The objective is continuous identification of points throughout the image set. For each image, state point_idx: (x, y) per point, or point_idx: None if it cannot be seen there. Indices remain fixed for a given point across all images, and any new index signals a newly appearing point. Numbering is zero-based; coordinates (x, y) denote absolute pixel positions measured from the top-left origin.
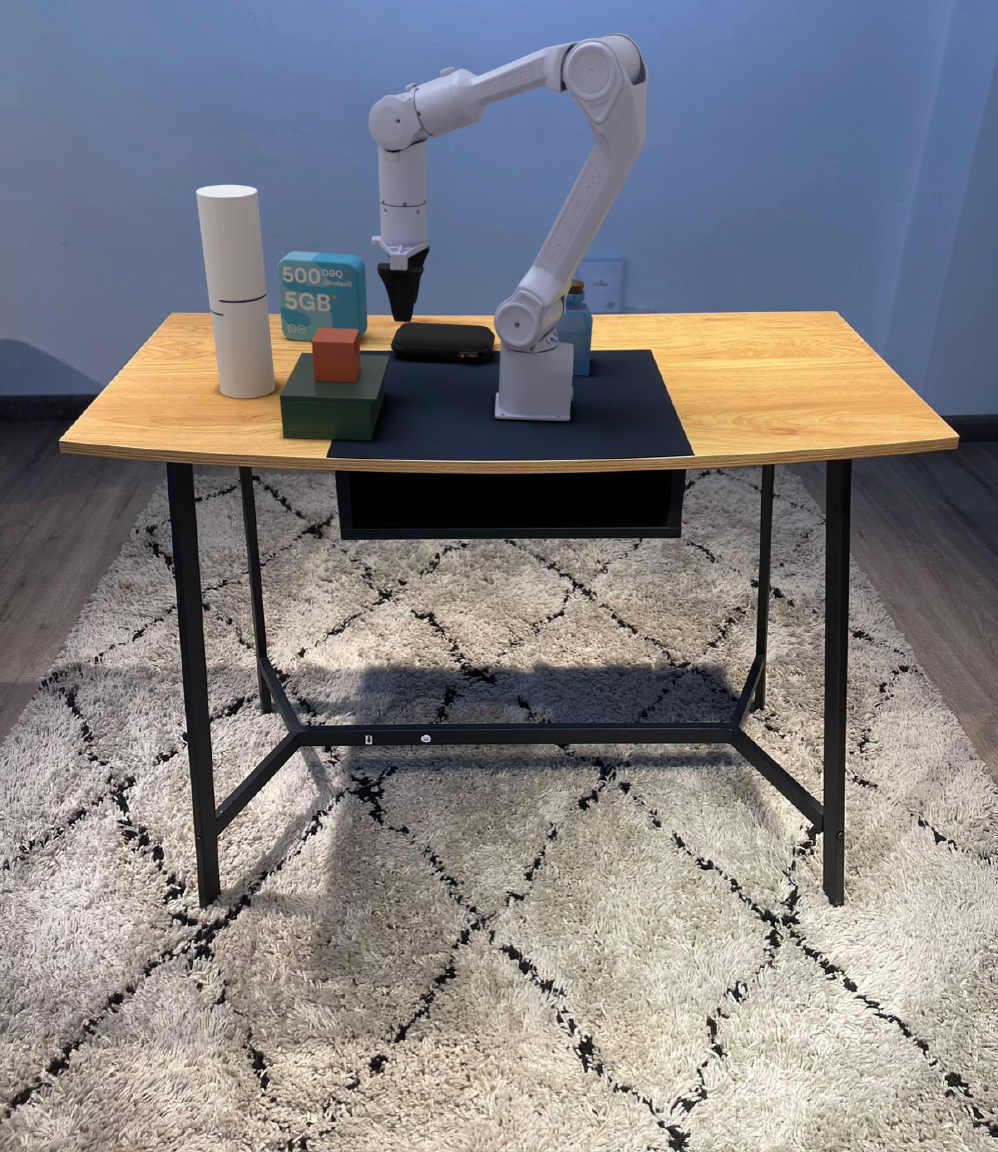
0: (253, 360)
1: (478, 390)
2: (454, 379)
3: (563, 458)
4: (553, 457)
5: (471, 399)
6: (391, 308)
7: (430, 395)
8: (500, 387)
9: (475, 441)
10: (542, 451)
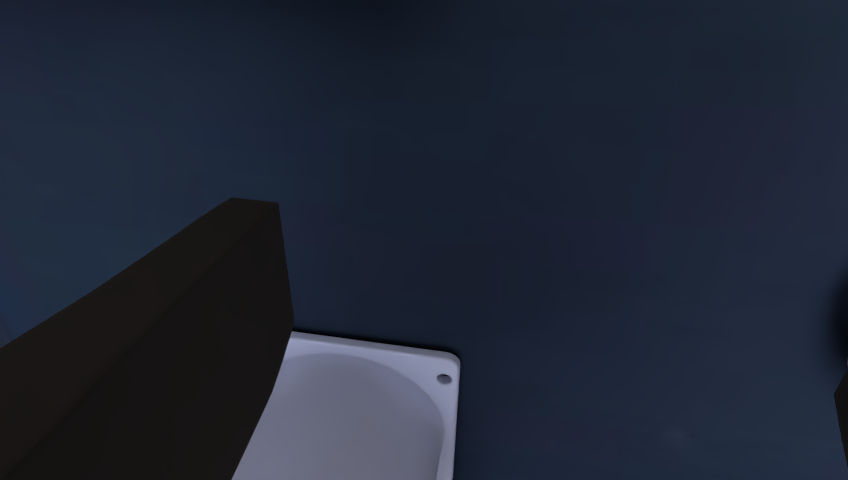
0: None
1: (526, 303)
2: (670, 231)
3: None
4: None
5: (427, 272)
6: (139, 262)
7: (463, 121)
8: (292, 413)
9: (55, 249)
10: None
